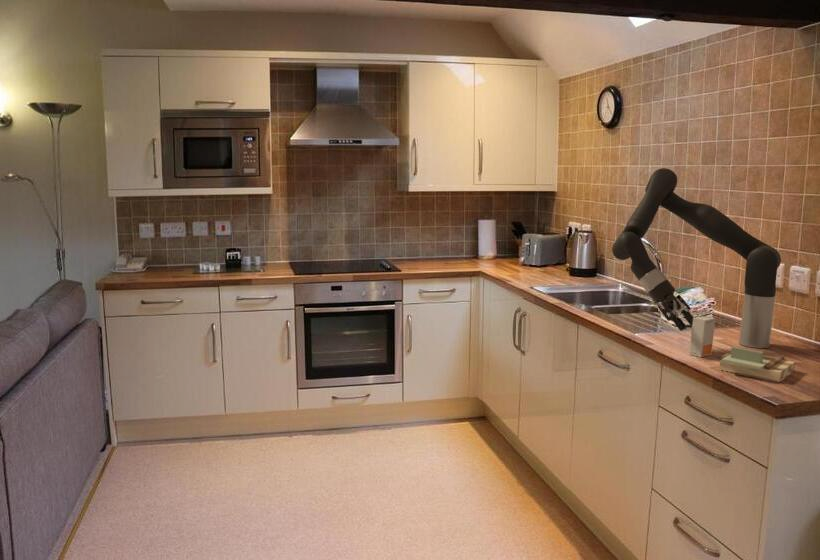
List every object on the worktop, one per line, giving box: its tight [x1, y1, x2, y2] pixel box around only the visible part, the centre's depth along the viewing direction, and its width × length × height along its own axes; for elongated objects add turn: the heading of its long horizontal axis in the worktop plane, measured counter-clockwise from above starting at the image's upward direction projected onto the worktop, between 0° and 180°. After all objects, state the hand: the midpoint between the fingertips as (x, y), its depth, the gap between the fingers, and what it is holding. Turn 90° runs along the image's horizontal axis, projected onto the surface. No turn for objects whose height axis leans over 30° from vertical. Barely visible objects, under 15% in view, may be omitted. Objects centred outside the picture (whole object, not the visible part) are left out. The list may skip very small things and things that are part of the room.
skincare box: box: [688, 315, 716, 358], centre depth 217 cm, size 6×4×12 cm
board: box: [718, 350, 796, 384], centre depth 202 cm, size 16×16×4 cm
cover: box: [722, 346, 771, 370], centre depth 198 cm, size 9×11×4 cm
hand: (689, 326), depth 220 cm, fingers open, 8 cm apart
